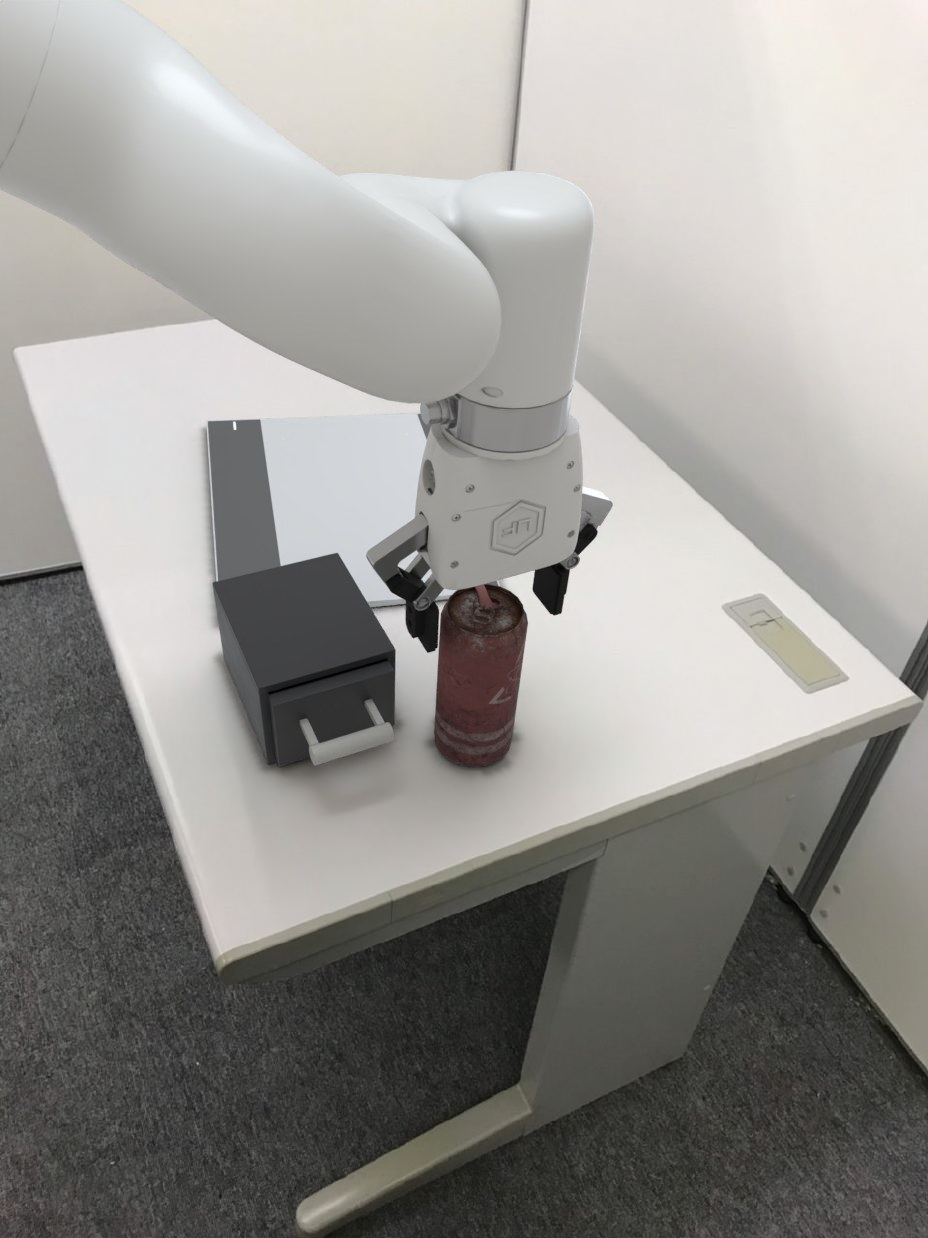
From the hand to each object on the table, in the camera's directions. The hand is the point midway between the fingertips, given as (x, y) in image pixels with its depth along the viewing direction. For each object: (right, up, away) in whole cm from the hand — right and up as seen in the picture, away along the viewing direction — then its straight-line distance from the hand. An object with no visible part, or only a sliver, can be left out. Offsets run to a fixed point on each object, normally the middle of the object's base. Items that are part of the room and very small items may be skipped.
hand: (486, 620), depth 68 cm
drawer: (-13, -7, +8) cm, 17 cm away
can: (-1, -10, +9) cm, 13 cm away
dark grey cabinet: (-14, -6, +11) cm, 19 cm away
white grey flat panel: (-14, +12, +30) cm, 35 cm away
